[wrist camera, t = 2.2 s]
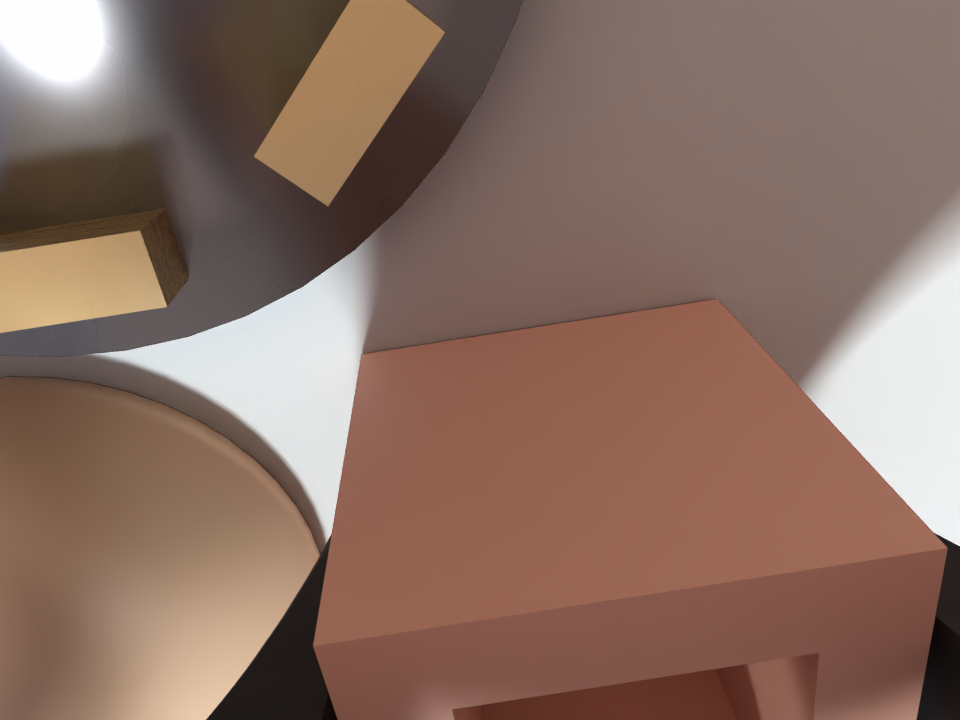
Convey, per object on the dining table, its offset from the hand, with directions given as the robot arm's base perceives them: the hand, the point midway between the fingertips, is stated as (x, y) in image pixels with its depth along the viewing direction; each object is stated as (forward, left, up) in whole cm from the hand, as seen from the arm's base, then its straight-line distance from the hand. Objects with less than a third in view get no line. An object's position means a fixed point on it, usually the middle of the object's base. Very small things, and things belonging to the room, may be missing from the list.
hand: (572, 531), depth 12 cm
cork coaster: (-9, -1, -2) cm, 9 cm away
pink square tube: (0, 0, -2) cm, 2 cm away
